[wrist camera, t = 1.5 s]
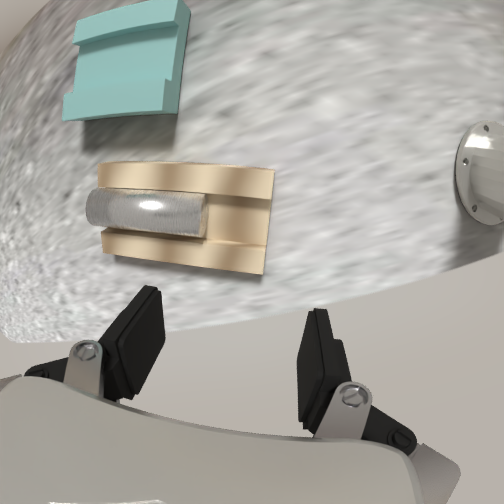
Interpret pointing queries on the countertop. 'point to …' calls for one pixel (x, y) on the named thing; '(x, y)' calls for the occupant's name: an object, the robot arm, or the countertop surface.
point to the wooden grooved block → (219, 213)
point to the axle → (148, 210)
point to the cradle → (129, 61)
